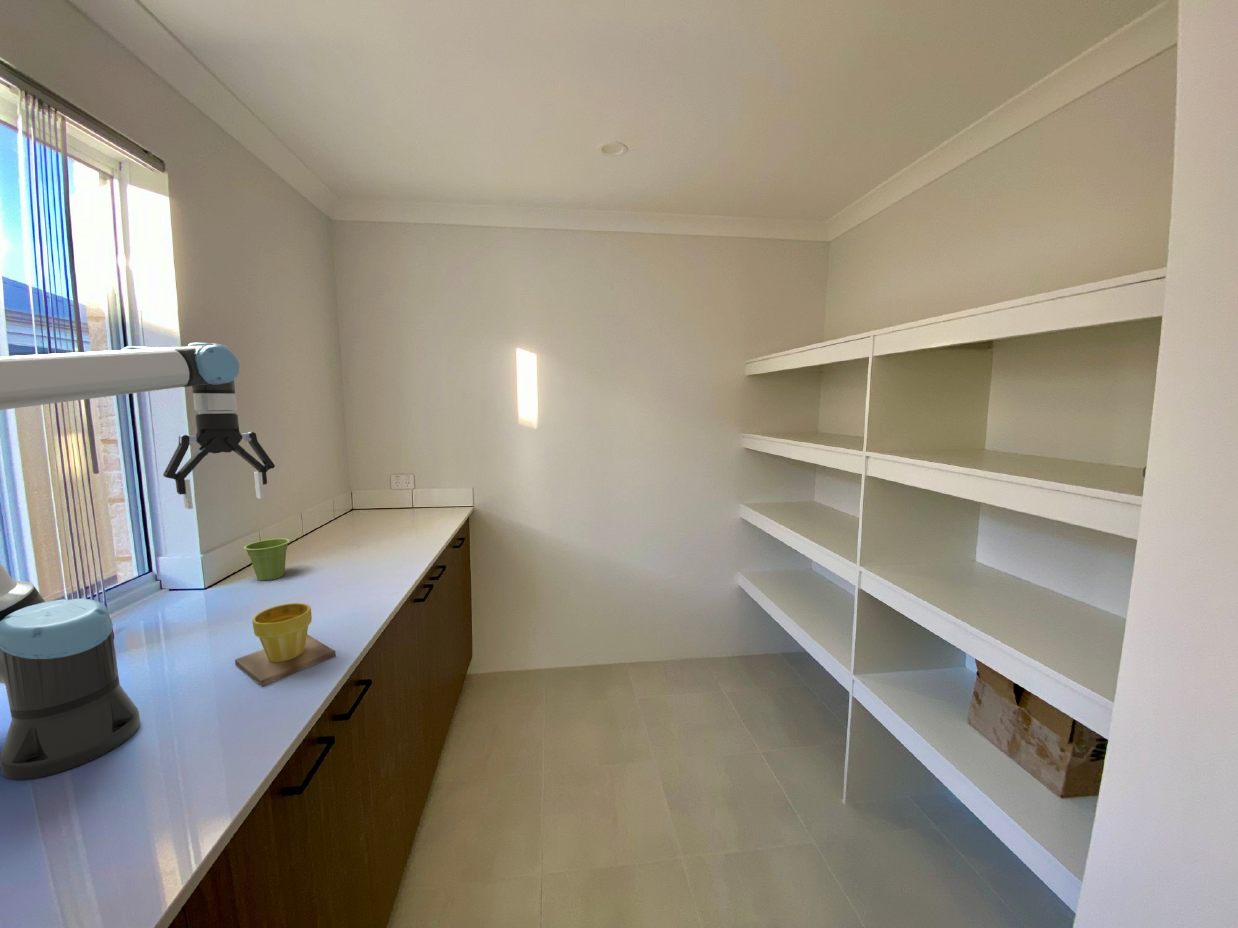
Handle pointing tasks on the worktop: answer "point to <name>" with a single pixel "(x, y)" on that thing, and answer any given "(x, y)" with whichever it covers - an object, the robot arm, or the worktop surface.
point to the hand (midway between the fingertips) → (226, 503)
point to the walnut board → (272, 671)
